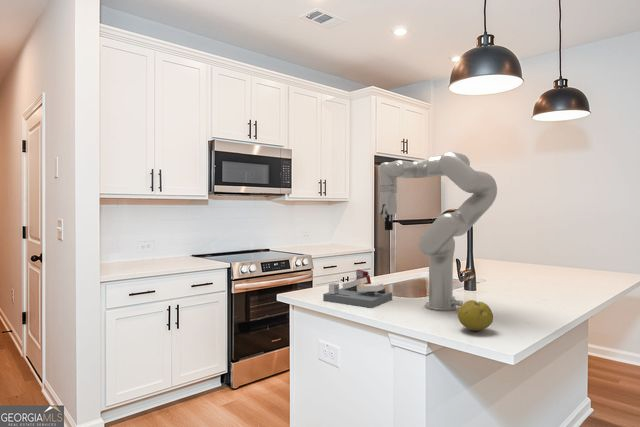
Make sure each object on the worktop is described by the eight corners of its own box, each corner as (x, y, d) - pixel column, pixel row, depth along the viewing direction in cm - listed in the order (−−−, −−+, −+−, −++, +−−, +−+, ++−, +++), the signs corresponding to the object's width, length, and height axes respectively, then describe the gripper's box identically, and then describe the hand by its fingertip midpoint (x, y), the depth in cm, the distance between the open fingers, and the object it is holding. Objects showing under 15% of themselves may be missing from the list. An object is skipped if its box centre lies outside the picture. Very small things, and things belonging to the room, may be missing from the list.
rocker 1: (367, 282, 195) (366, 276, 196) (361, 284, 190) (359, 278, 191) (349, 286, 201) (348, 281, 201) (343, 288, 196) (341, 283, 196)
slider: (338, 292, 188) (338, 283, 188) (334, 294, 184) (334, 285, 184) (333, 292, 189) (333, 283, 189) (328, 293, 186) (328, 284, 186)
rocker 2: (383, 288, 184) (382, 283, 184) (377, 291, 179) (376, 285, 179) (363, 289, 190) (362, 283, 190) (357, 291, 185) (356, 285, 185)
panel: (392, 299, 190) (392, 288, 190) (371, 308, 173) (372, 296, 173) (346, 293, 203) (346, 283, 203) (323, 300, 186) (323, 289, 186)
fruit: (451, 326, 147) (451, 297, 147) (484, 325, 147) (484, 297, 147) (463, 336, 136) (464, 305, 136) (499, 335, 136) (499, 304, 136)
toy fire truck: (363, 294, 200) (363, 272, 200) (351, 289, 211) (351, 269, 211) (375, 293, 203) (375, 271, 202) (363, 288, 214) (363, 268, 214)
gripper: (387, 190, 200) (387, 229, 200) (373, 189, 187) (374, 230, 187) (402, 190, 196) (402, 229, 196) (389, 188, 183) (390, 231, 183)
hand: (388, 230), depth 191 cm, fingers closed
